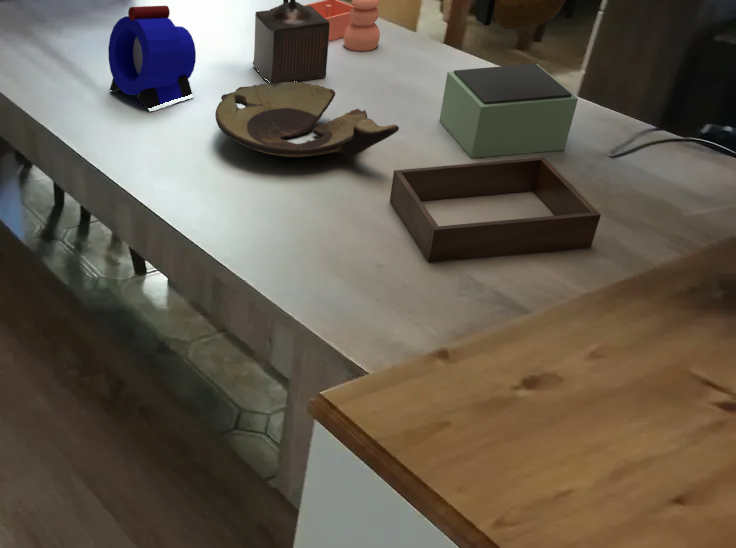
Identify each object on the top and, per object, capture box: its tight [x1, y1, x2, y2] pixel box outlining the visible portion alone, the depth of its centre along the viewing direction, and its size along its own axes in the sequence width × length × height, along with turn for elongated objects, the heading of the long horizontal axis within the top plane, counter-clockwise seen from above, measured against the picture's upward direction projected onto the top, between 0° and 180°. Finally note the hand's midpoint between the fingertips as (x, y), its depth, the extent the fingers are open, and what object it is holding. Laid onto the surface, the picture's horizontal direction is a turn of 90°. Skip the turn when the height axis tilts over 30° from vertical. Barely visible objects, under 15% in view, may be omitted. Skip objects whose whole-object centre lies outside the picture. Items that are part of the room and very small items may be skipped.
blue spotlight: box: [107, 5, 197, 109], centre depth 155 cm, size 12×12×15 cm
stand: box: [438, 63, 579, 159], centre depth 138 cm, size 14×14×8 cm
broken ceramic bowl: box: [214, 81, 400, 158], centre depth 138 cm, size 22×30×8 cm
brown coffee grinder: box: [252, 0, 330, 83], centre depth 159 cm, size 16×11×18 cm
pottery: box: [302, 0, 381, 52], centre depth 173 cm, size 18×10×10 cm, turn 30°
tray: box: [389, 156, 602, 263], centre depth 120 cm, size 17×21×4 cm
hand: (524, 19), depth 130 cm, fingers closed on potato, 11 cm apart
